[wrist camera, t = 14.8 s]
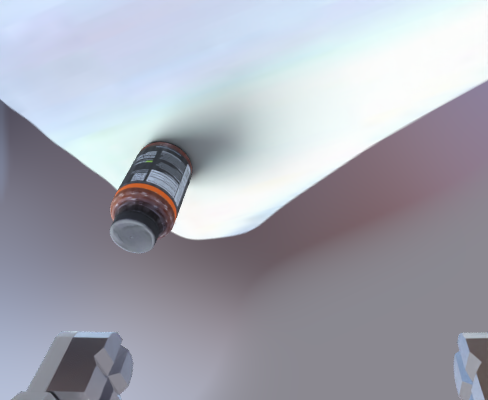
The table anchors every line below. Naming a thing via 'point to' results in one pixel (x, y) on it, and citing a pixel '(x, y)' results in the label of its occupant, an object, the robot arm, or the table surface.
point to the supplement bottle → (150, 197)
